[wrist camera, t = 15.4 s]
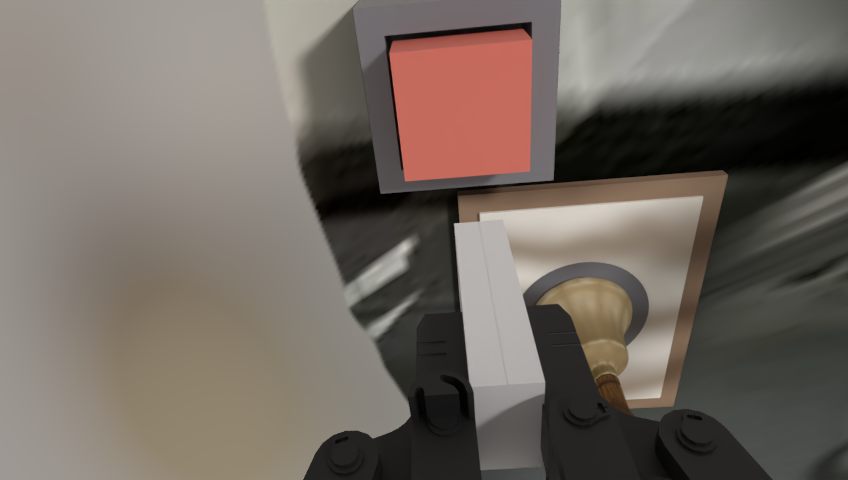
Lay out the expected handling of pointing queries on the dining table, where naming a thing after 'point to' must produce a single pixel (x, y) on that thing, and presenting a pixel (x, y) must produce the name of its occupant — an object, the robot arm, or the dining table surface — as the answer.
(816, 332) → the dining table surface
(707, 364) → the dining table surface
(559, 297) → the hand bell
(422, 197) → the dining table surface
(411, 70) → the button
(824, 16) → the dining table surface
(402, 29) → the button housing
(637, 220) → the drawing board
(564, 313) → the robot arm
